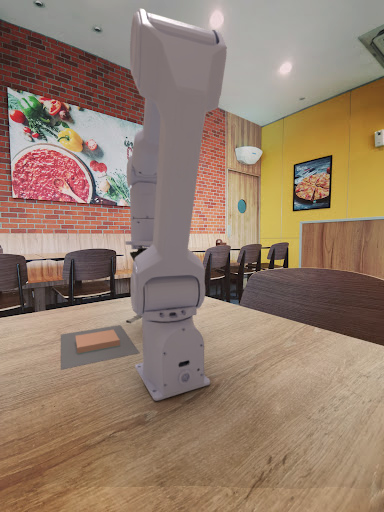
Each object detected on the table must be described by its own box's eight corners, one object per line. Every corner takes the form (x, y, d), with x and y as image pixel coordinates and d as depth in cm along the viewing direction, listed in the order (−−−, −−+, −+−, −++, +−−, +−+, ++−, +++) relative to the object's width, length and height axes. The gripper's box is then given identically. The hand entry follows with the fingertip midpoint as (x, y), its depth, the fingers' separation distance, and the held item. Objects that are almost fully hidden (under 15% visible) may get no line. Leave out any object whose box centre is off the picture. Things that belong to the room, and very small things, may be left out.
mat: (139, 355, 44) (139, 352, 44) (61, 372, 38) (60, 369, 38) (120, 326, 58) (120, 325, 58) (60, 336, 53) (60, 334, 52)
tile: (113, 335, 52) (119, 346, 46) (75, 342, 49) (77, 354, 43) (113, 329, 52) (119, 339, 46) (75, 335, 48) (77, 347, 43)
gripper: (117, 221, 57) (119, 281, 58) (135, 216, 45) (137, 293, 46) (147, 222, 61) (148, 279, 62) (172, 217, 48) (173, 289, 49)
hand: (146, 285), depth 54 cm, fingers closed
